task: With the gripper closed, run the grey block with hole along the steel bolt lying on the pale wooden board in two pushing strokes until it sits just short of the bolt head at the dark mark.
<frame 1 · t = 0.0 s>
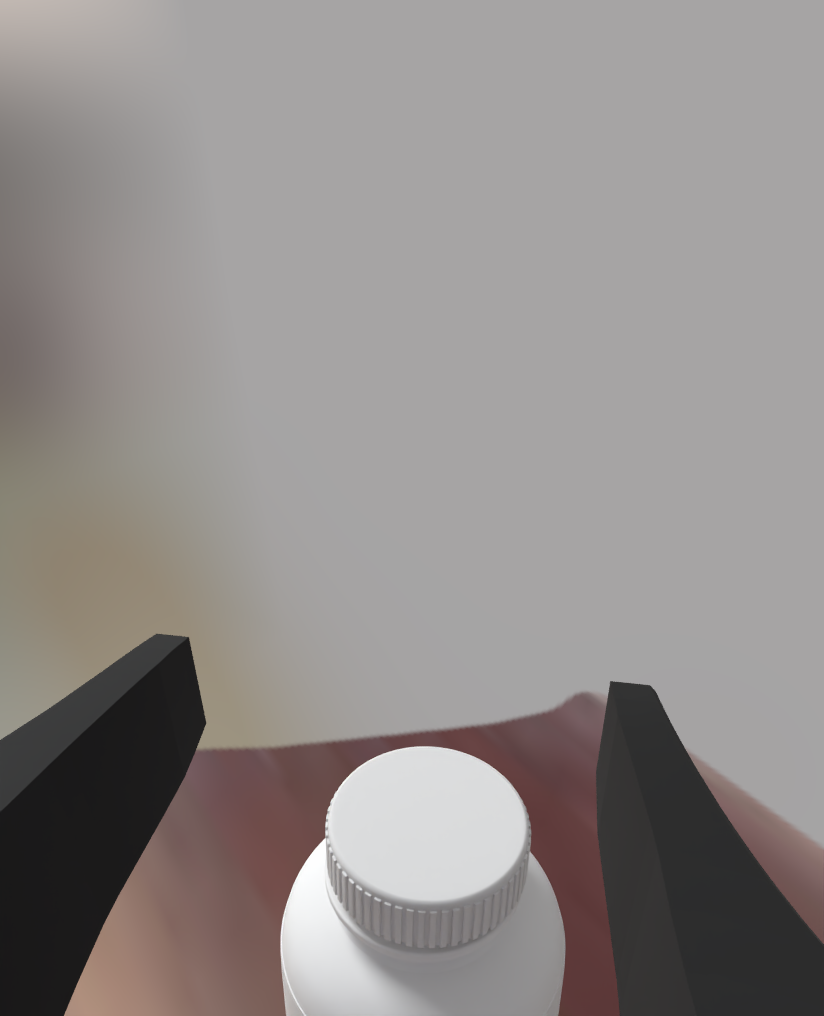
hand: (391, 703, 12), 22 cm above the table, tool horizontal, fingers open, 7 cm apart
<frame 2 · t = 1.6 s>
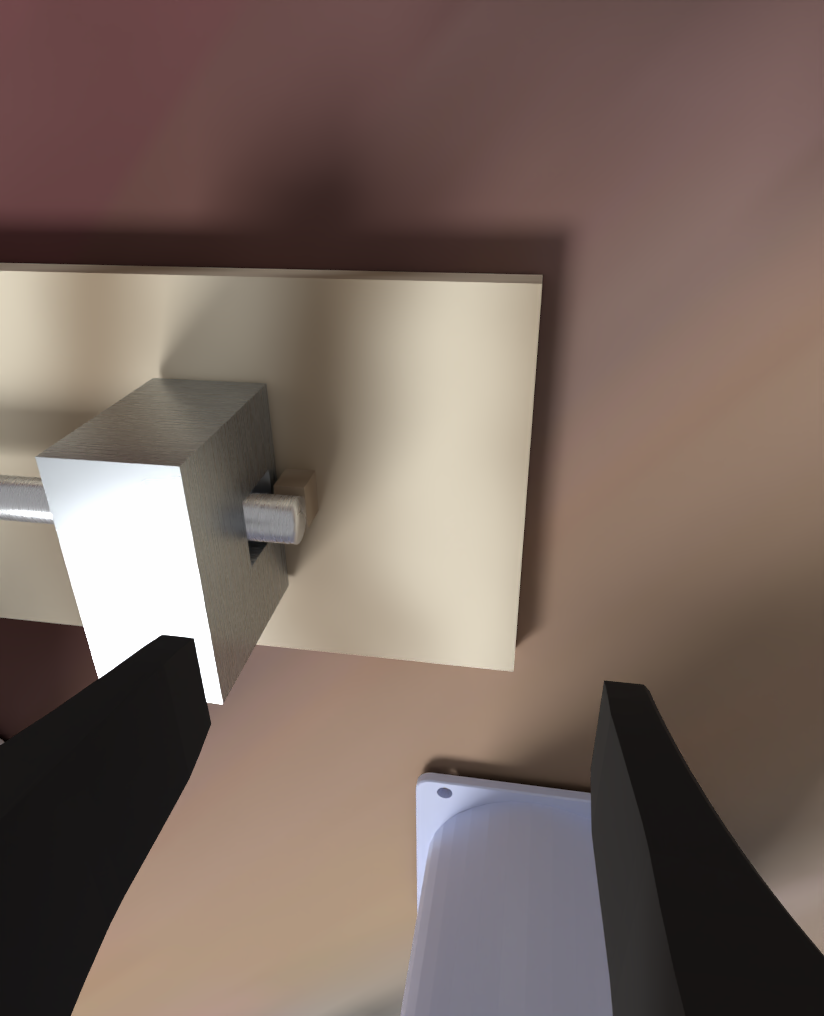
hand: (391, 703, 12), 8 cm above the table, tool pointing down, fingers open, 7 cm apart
grey block with hole: (186, 533, 17), point 4 cm above the table, slide at 0.0 cm
bolt board: (127, 461, 21), on the table
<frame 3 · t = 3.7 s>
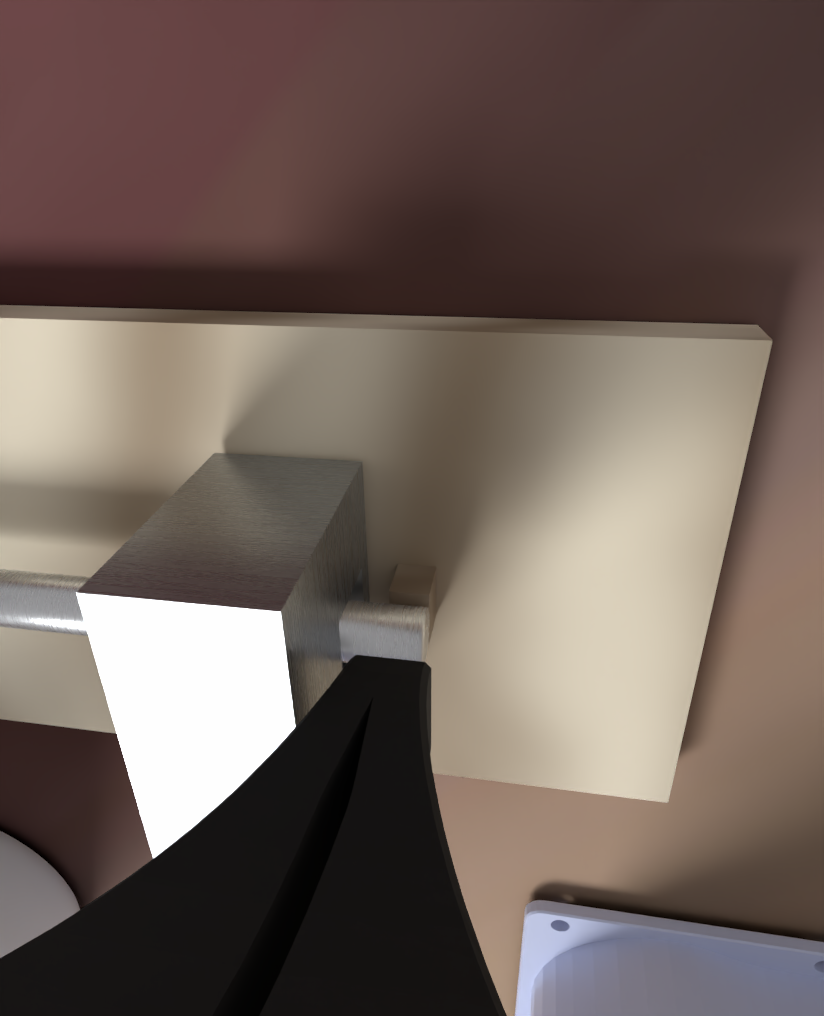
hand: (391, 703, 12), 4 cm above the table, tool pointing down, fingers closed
grey block with hole: (262, 657, 13), point 4 cm above the table, slide at 0.4 cm, touching gripper
bolt board: (189, 544, 17), on the table
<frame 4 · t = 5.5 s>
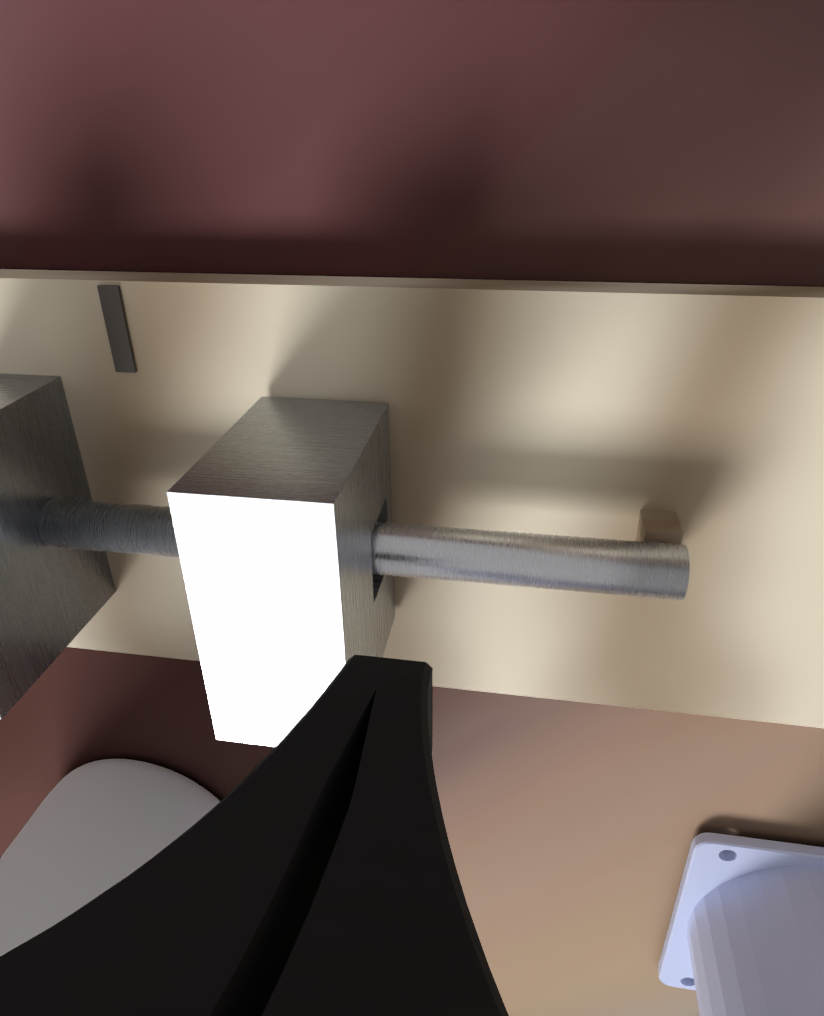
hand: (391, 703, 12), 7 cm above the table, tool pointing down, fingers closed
grey block with hole: (304, 567, 16), point 4 cm above the table, slide at 5.6 cm
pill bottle: (156, 820, 28), on the table
bolt board: (424, 497, 19), on the table
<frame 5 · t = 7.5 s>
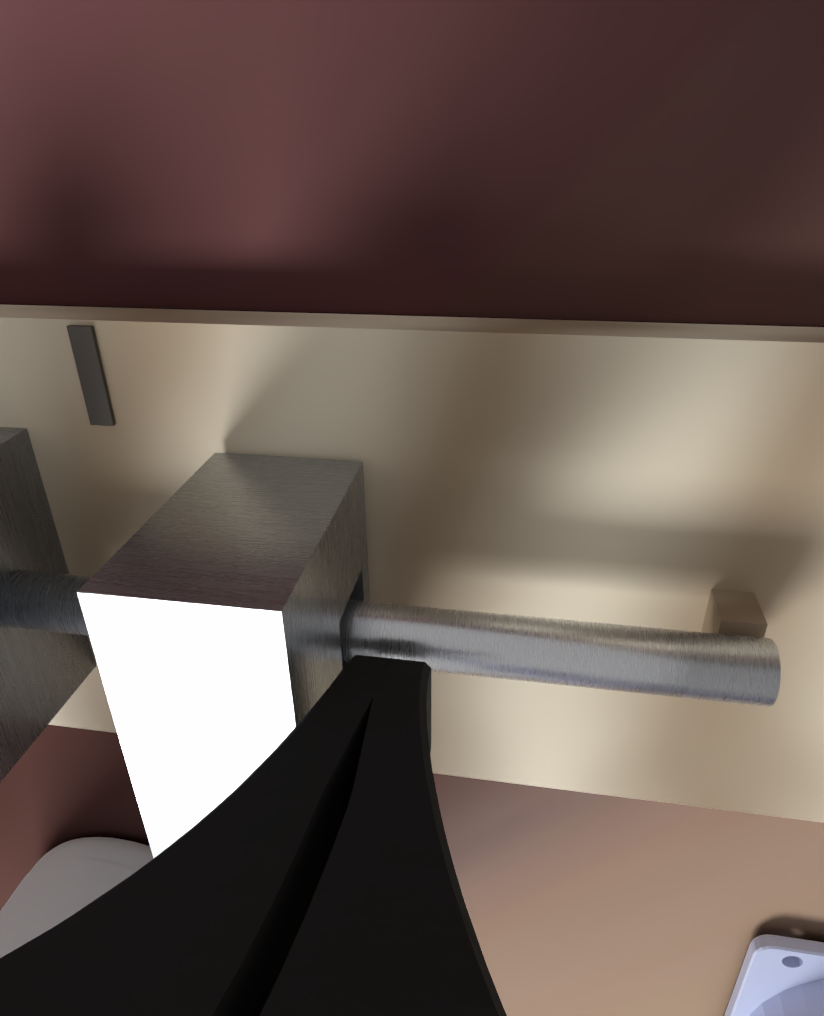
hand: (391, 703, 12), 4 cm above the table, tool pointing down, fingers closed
grey block with hole: (262, 657, 13), point 4 cm above the table, slide at 6.6 cm, touching gripper
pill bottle: (146, 900, 25), on the table
bolt board: (451, 565, 16), on the table
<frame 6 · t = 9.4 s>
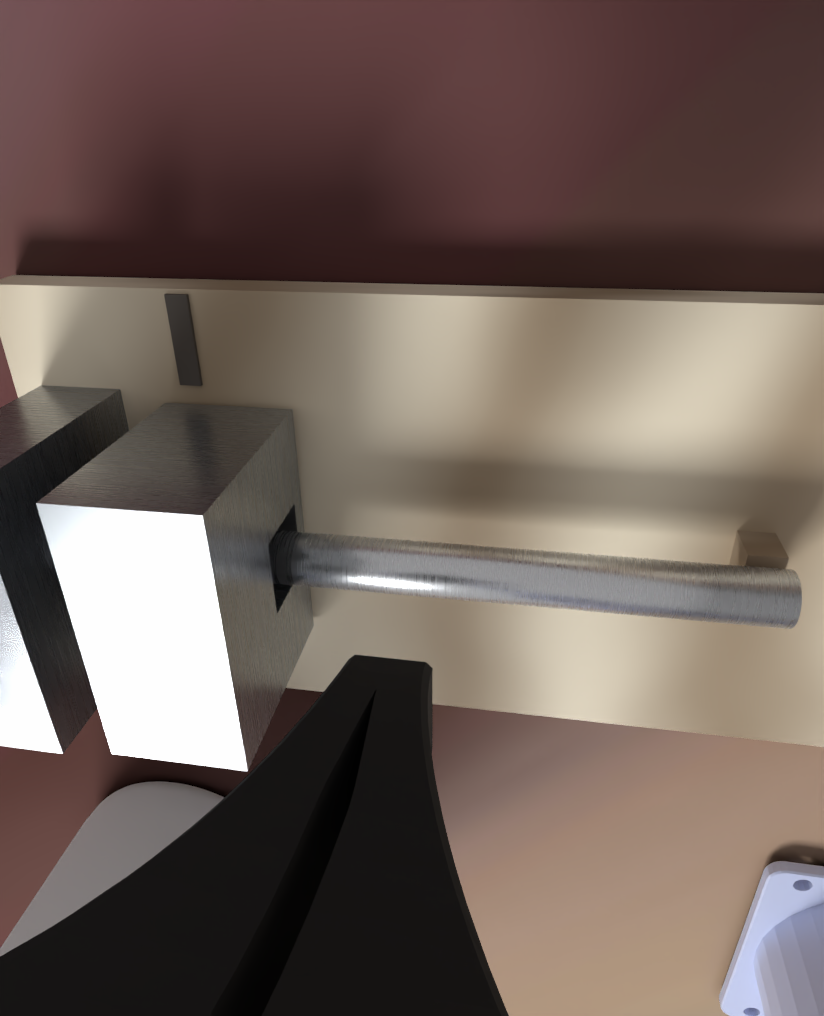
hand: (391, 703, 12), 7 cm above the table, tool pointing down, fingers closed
grey block with hole: (204, 577, 16), point 4 cm above the table, slide at 9.6 cm
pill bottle: (196, 844, 27), on the table
bolt board: (499, 515, 18), on the table
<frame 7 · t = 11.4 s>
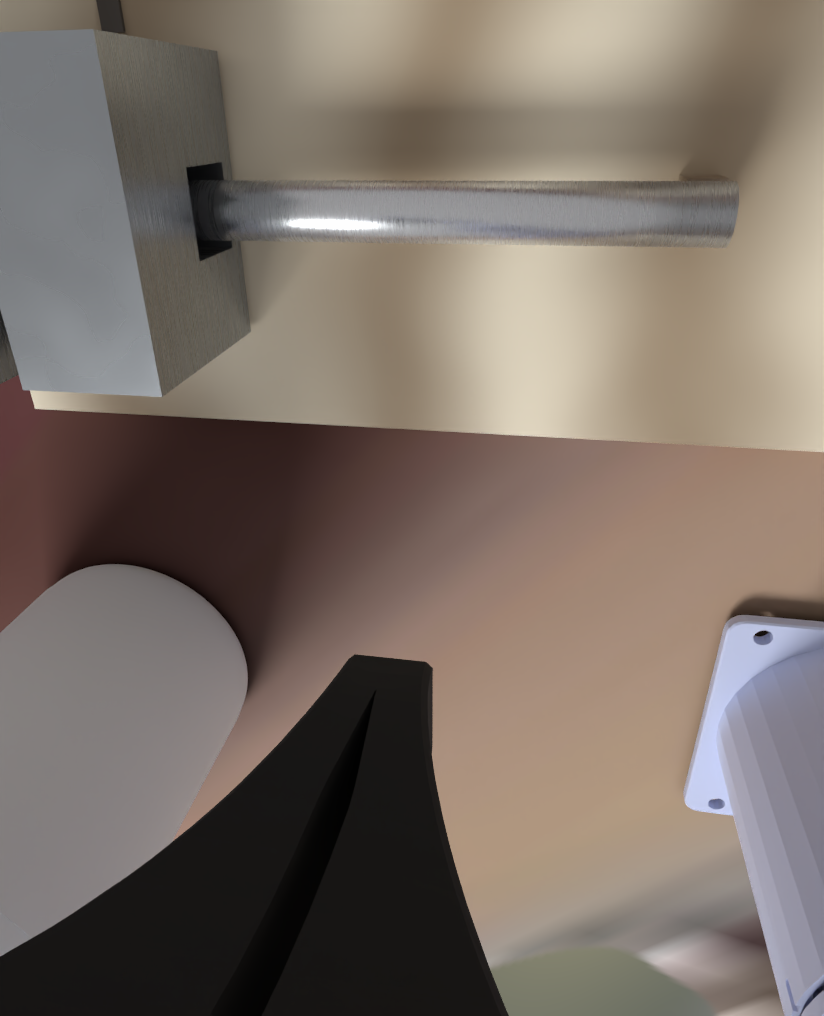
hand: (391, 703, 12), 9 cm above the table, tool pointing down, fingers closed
grey block with hole: (122, 215, 15), point 4 cm above the table, slide at 9.6 cm
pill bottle: (150, 645, 26), on the table
bolt board: (439, 199, 17), on the table
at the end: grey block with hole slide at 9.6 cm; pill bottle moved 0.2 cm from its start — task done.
